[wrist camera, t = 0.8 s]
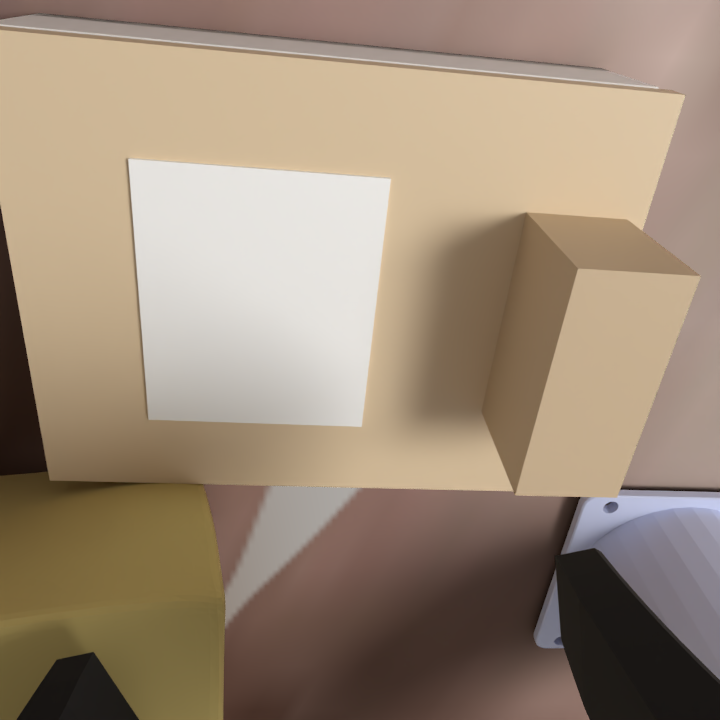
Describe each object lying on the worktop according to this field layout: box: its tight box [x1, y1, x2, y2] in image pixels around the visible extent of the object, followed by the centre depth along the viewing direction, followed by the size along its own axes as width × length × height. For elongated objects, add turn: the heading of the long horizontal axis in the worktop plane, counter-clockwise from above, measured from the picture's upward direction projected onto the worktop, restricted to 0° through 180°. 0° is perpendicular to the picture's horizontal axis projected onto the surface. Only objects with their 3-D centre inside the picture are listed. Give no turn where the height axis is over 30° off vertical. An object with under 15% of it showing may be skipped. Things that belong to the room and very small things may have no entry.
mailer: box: [0, 13, 658, 89], centre depth 17 cm, size 13×10×3 cm
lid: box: [0, 26, 701, 498], centre depth 14 cm, size 13×10×4 cm
